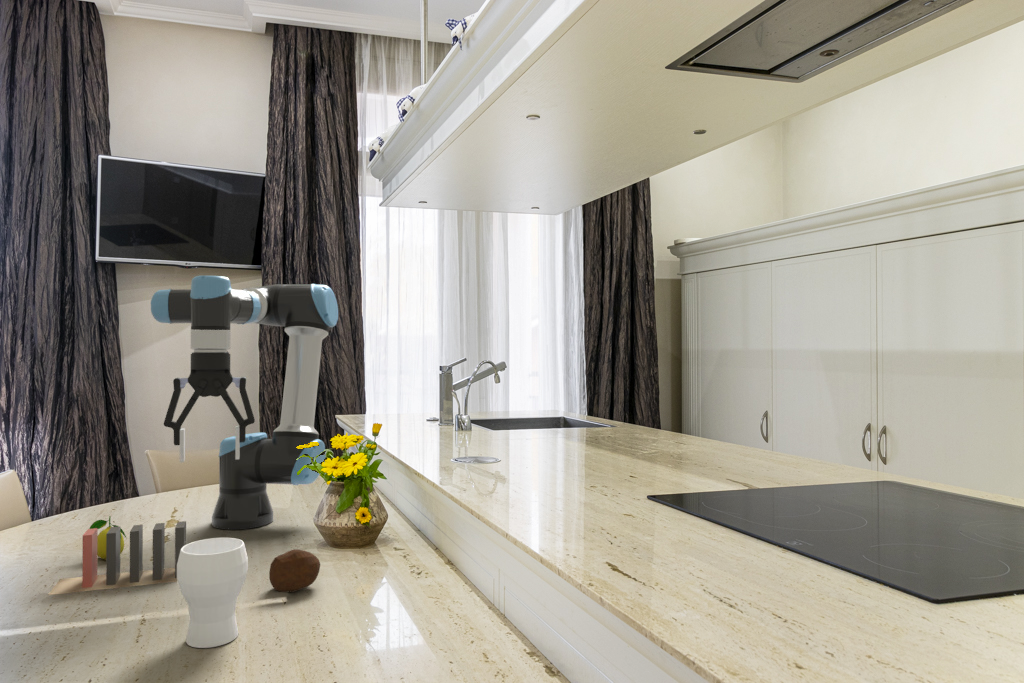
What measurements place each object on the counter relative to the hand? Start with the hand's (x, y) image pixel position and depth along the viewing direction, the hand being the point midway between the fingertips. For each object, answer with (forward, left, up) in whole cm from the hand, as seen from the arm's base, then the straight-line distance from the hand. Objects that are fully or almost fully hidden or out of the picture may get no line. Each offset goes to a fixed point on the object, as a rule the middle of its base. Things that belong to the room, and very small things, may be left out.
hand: (210, 459), depth 143 cm
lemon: (+21, -16, -24) cm, 36 cm away
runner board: (+14, 0, -24) cm, 28 cm away
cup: (-2, +33, -24) cm, 41 cm away
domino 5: (+5, 0, -23) cm, 23 cm away
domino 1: (+21, 0, -23) cm, 31 cm away
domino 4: (+9, 0, -23) cm, 25 cm away
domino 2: (+17, 0, -23) cm, 29 cm away
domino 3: (+13, 0, -23) cm, 26 cm away
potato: (-16, +15, -24) cm, 33 cm away
